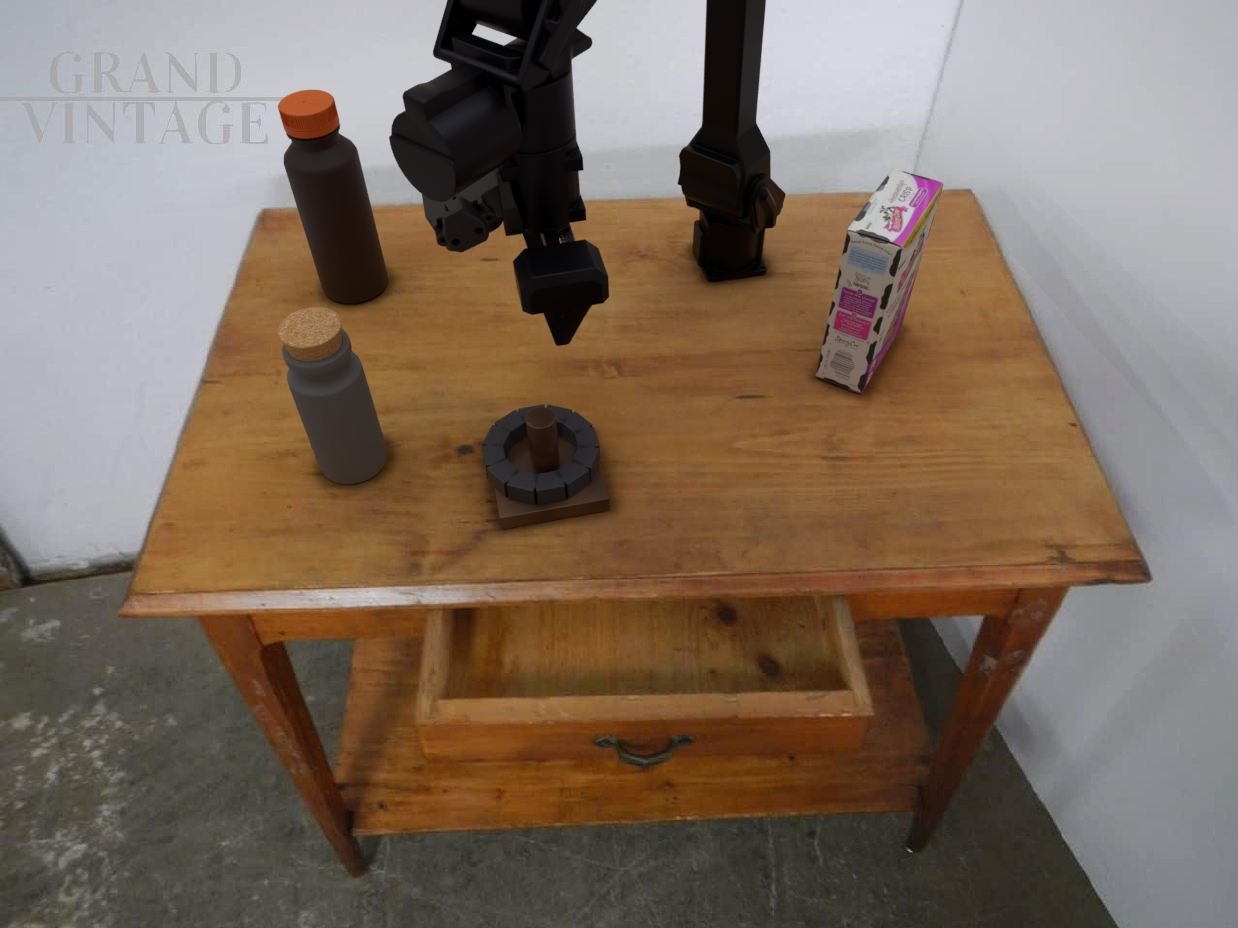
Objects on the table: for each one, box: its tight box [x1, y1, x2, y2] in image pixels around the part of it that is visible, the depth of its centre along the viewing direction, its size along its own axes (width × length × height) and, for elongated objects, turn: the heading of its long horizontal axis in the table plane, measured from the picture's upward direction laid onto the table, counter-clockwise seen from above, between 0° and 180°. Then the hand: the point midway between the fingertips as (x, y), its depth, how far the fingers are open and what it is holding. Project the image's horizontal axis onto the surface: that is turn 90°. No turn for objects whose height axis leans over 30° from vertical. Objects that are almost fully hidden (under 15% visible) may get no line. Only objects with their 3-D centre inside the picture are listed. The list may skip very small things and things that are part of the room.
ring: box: [481, 403, 601, 505], centre depth 78 cm, size 10×10×2 cm
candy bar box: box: [815, 168, 945, 394], centre depth 84 cm, size 11×5×16 cm, turn 150°
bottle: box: [277, 306, 388, 485], centre depth 76 cm, size 6×6×15 cm
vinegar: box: [277, 89, 389, 304], centre depth 90 cm, size 7×7×20 cm
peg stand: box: [493, 406, 611, 530], centre depth 77 cm, size 9×9×8 cm
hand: (552, 307), depth 77 cm, fingers open, 9 cm apart
